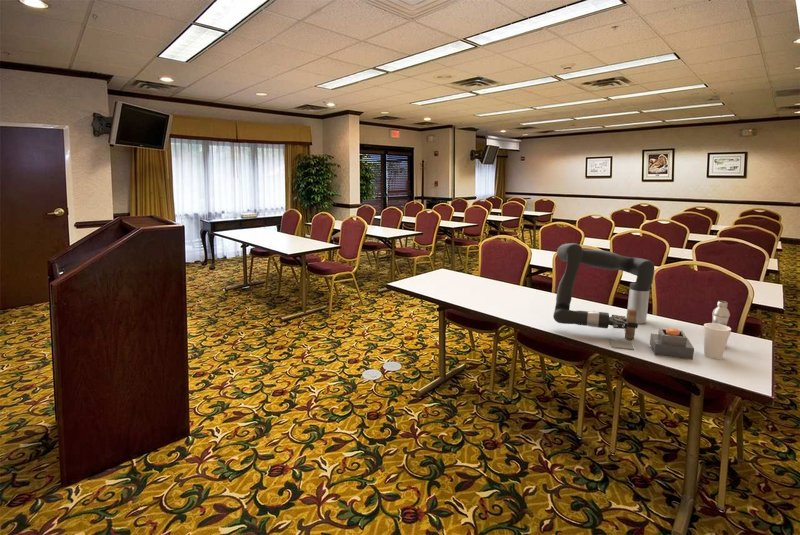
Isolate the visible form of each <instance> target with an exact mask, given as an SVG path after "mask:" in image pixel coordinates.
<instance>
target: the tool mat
mask: <svg viewBox="0 0 800 535" xmlns="http://www.w3.org/2000/svg"><path fill="white" fill-rule="evenodd" d="M609 342H610V346H611V348H613V349H621V350H628V351H630V350H632V351H634V350H635V346H634V345H633V340H627V339H624V340H623V339H617V338H609Z"/></svg>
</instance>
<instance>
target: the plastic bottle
mask: <svg viewBox="0 0 800 535" xmlns="http://www.w3.org/2000/svg"><path fill="white" fill-rule="evenodd" d="M716 305H717V306H716V307H714V309H713V311H712V313H711V314H712V321H711V323H715V324H721V325H725V326H727V325H728V322H729V320H730V319H729V318H730V316H731V313H730V311H729V309H728V302H727V301H724V300H718V301H717V304H716Z"/></svg>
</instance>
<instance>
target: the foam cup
mask: <svg viewBox="0 0 800 535" xmlns="http://www.w3.org/2000/svg"><path fill="white" fill-rule="evenodd" d="M702 328H703V329H702V331H703V355H704V356H705V357H707V356H708V357H707V358H710V357H711V359H714V358H716V359H717V358H719V359H717V360H721V359H723V357H724V353H725V351H726V350H725V349H726V347H727V344H728V340H729V337H730V336H731V331H732V328H731V327H730V326H725V325H721V324H715V323H712V322H708V323H704V324H703V327H702ZM716 359H715V360H716Z"/></svg>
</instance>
